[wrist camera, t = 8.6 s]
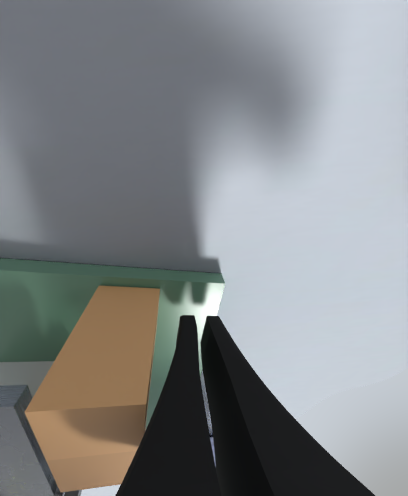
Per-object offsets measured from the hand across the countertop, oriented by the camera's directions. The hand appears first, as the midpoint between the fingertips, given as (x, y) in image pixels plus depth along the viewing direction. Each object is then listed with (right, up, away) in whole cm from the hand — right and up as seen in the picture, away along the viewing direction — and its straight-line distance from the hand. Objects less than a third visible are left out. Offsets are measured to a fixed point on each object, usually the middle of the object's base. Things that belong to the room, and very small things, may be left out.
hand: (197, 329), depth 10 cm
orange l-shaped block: (-4, 0, +1) cm, 4 cm away
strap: (-9, -6, 0) cm, 11 cm away
